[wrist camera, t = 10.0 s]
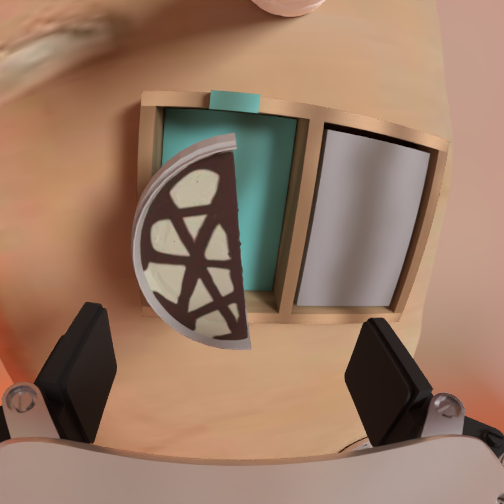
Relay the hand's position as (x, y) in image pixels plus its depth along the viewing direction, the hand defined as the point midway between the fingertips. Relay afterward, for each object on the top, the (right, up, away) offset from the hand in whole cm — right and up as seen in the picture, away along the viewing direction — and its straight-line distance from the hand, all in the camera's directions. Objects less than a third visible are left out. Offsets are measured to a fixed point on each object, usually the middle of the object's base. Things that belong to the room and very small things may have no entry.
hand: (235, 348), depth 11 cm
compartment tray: (+4, +7, +15) cm, 17 cm away
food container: (-4, +7, +14) cm, 16 cm away
